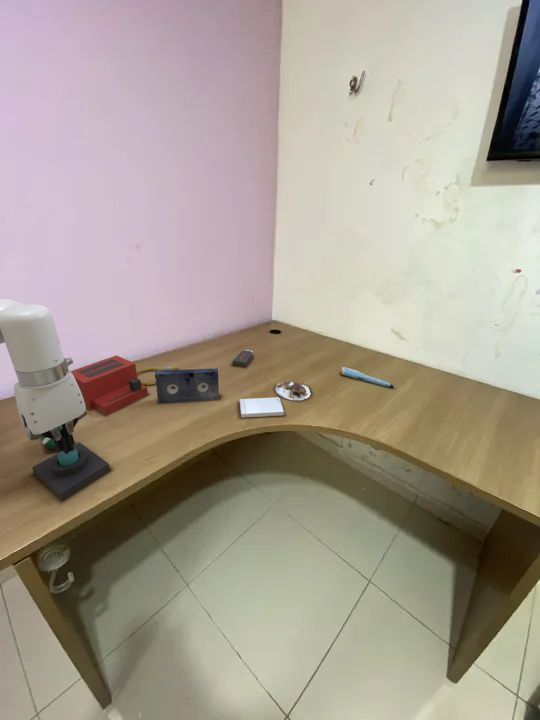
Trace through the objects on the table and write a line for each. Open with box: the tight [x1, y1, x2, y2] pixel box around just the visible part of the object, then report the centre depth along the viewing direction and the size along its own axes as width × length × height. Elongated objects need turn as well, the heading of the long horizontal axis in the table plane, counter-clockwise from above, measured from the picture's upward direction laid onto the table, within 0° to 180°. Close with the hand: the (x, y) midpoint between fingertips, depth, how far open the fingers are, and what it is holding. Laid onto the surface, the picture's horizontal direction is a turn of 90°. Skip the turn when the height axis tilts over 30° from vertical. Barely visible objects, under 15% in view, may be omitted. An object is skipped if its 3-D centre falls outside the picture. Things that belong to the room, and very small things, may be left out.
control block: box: [31, 441, 111, 502], centre depth 67 cm, size 12×10×4 cm
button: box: [57, 449, 79, 466], centre depth 66 cm, size 4×4×2 cm
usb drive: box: [232, 349, 254, 369], centre depth 123 cm, size 5×12×3 cm, turn 166°
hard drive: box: [239, 396, 285, 419], centre depth 93 cm, size 2×8×12 cm
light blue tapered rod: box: [341, 366, 395, 388], centre depth 112 cm, size 19×3×3 cm, turn 61°
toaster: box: [70, 355, 149, 417], centre depth 94 cm, size 16×16×9 cm
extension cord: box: [136, 365, 178, 387], centre depth 108 cm, size 12×16×2 cm
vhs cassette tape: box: [154, 368, 220, 404], centre depth 94 cm, size 18×3×10 cm, turn 99°
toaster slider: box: [129, 377, 142, 391], centre depth 94 cm, size 2×2×3 cm
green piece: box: [40, 425, 75, 450], centre depth 76 cm, size 9×4×6 cm
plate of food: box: [274, 381, 311, 401], centre depth 102 cm, size 12×12×4 cm
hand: (66, 449), depth 65 cm, fingers closed
